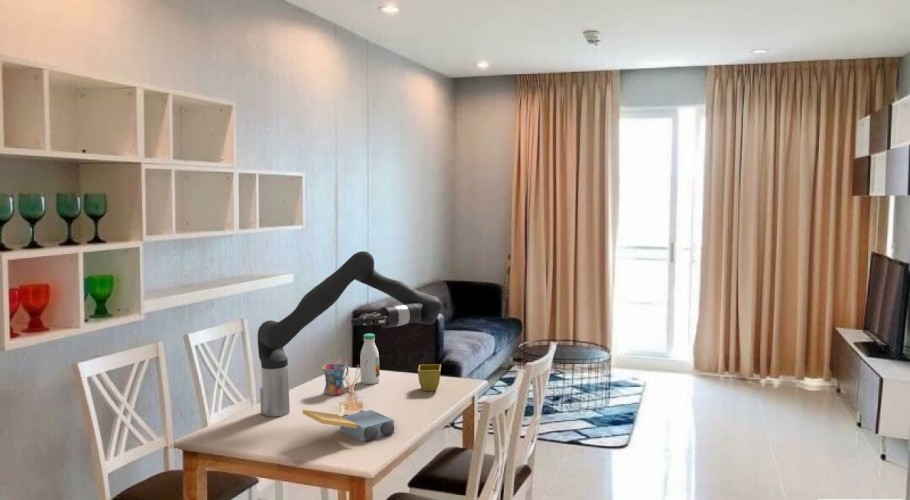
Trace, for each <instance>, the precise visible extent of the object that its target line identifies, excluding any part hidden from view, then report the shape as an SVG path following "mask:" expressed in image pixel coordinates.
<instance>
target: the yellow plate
mask: <svg viewBox="0 0 910 500" xmlns="http://www.w3.org/2000/svg"><path fill="white" fill-rule="evenodd" d="M301 413H302V415H304V416H306V417H309V418H310V419H312V420H314V421H316V422H318V423H321V424H323V425H328V426H329V425H330V426H331V425H332V426H337V427H340V426H344V427H351V428H358V429H361V426H360V425H358V424H356V423H354V422H351V421H349V420H347V419H345V418H343V417H342V416H341V415H338V414H336V413H335V414H334V413H329V412H322V411H315V410H308V409H302V412H301Z"/></svg>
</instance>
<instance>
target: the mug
mask: <svg viewBox="0 0 910 500" xmlns="http://www.w3.org/2000/svg"><path fill="white" fill-rule="evenodd" d="M321 369H322V371H323V373H324V374H323V375H324V378H325V387H324V390H323V393H324V394H325V395H328V396H339V395H341V394H344V393H345V392H346V388H345V385H344V380H345V379H346V378H344V376H345V375H346V377H347V376H348V374H349V368H348V366H347V365H345V364H344V363H329V364H324V365H322V366H321ZM345 371H346V373H345ZM344 374H345V375H344Z"/></svg>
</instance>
